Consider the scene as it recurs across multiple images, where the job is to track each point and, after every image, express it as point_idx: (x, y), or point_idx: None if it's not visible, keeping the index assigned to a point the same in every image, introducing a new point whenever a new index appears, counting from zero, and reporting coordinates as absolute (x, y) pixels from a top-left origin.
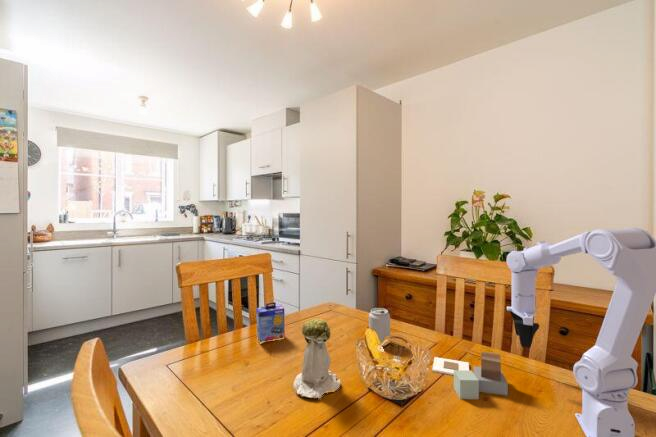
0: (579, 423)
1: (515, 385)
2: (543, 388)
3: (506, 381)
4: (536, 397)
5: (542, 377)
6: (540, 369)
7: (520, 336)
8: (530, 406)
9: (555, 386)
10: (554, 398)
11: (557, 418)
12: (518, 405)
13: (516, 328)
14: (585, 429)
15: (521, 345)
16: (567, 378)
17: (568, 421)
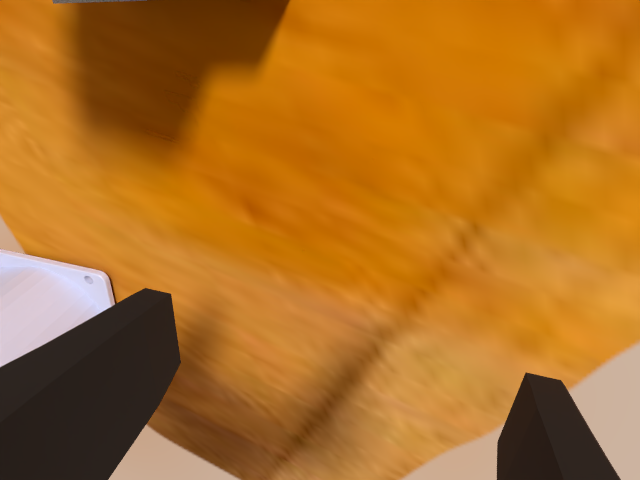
0: (50, 260)
1: (262, 84)
2: (286, 237)
3: (81, 1)
4: (176, 167)
5: (416, 281)
6: (526, 312)
7: (1, 375)
8: (75, 106)
9: (328, 302)
10: (206, 249)
11: (50, 195)
12: (48, 40)
13: (546, 473)
14: (13, 261)
15: (135, 295)
16: (433, 389)
17: (54, 228)
